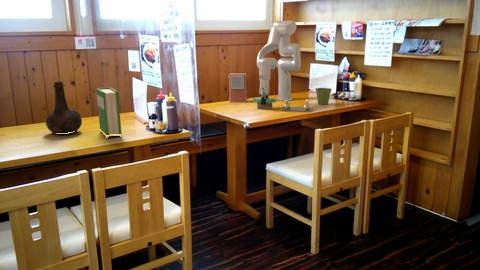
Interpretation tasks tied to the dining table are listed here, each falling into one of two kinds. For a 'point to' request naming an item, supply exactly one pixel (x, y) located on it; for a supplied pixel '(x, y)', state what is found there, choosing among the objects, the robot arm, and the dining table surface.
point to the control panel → (238, 87)
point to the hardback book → (108, 110)
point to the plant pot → (323, 95)
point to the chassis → (296, 109)
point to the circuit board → (268, 100)
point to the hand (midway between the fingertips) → (264, 103)
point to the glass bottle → (62, 114)
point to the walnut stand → (264, 106)
